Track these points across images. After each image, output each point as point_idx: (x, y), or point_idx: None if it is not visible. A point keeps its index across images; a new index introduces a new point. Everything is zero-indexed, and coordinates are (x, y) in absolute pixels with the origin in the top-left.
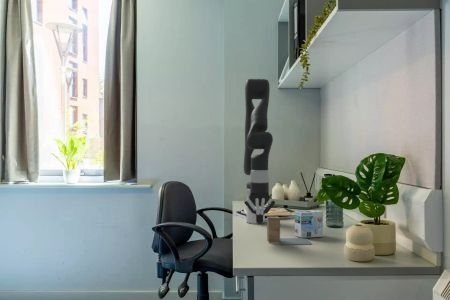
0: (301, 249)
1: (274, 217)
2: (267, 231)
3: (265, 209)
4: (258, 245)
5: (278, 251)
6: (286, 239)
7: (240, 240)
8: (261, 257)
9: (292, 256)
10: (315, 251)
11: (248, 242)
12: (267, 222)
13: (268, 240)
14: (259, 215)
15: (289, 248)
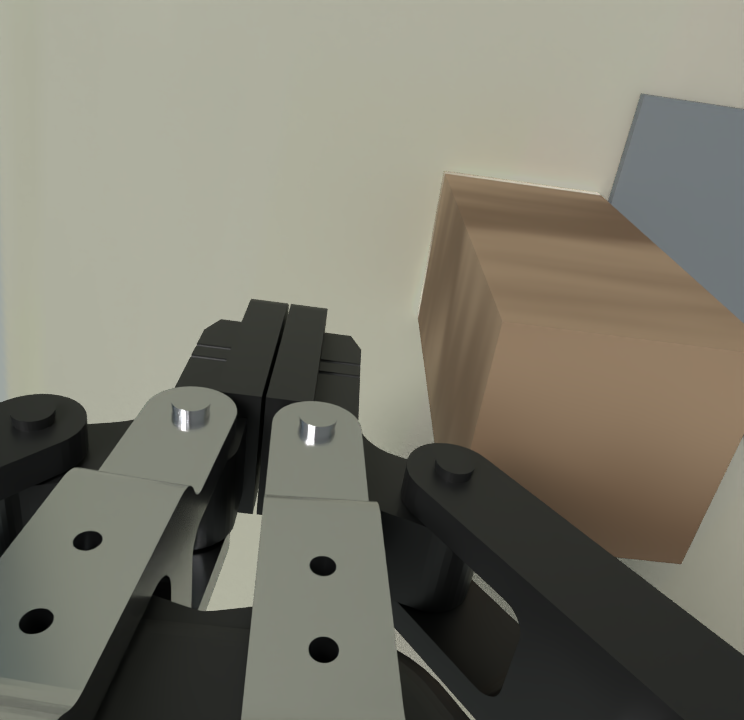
0: (648, 573)
1: (627, 452)
2: (451, 255)
3: (445, 533)
4: None
5: None
6: (732, 196)
7: (49, 69)
8: None
9: (464, 708)
10: (727, 637)
11: (162, 214)
12: (470, 319)
13: (423, 304)
14: (245, 506)
15: None
